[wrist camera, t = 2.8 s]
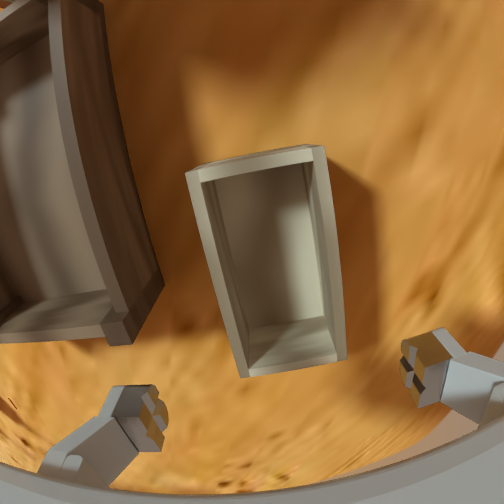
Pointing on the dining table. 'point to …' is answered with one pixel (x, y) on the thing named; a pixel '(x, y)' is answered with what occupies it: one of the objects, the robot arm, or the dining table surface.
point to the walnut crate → (67, 184)
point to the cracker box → (5, 3)
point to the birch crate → (273, 257)
